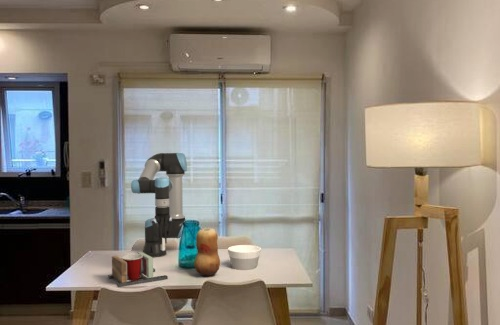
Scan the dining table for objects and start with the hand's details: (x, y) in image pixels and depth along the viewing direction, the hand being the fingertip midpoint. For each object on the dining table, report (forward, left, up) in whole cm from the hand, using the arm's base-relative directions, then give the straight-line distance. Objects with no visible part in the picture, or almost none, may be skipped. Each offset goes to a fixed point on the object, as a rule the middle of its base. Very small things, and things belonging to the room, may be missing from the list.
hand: (162, 249), depth 253 cm
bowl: (-45, +11, -13) cm, 48 cm away
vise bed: (+14, 0, -13) cm, 19 cm away
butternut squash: (-19, +15, -13) cm, 28 cm away
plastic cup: (+16, +1, -13) cm, 20 cm away
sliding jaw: (+10, 0, -11) cm, 15 cm away
